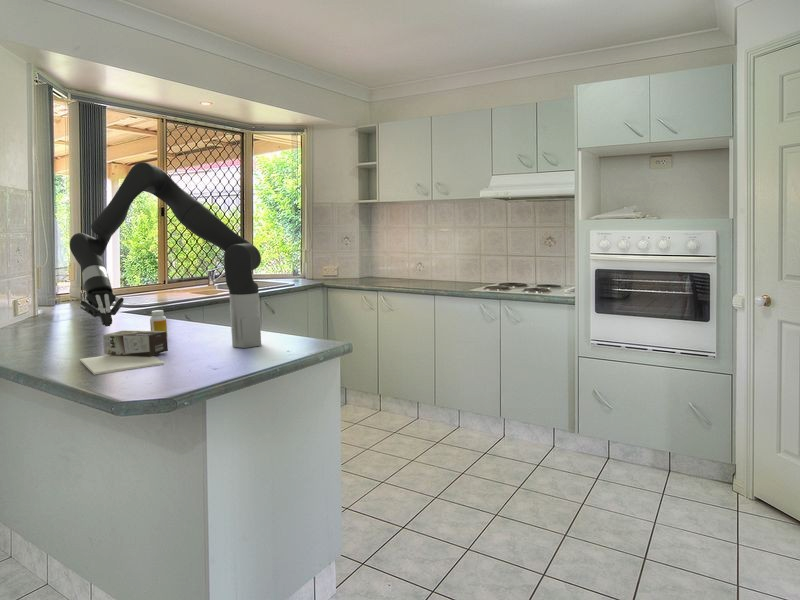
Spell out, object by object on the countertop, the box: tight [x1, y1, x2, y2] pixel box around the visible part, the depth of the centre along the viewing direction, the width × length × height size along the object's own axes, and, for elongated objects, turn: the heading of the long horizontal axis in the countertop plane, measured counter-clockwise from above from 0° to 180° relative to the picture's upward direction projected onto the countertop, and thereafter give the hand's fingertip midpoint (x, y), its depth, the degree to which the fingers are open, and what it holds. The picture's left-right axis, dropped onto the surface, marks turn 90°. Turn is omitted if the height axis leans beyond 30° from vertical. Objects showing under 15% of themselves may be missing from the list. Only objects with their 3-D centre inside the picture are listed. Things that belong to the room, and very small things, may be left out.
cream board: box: [79, 355, 165, 376], centre depth 172 cm, size 22×18×1 cm
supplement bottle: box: [149, 309, 168, 335], centre depth 211 cm, size 5×5×10 cm
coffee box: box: [102, 330, 169, 356], centre depth 182 cm, size 9×6×16 cm
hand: (108, 324), depth 182 cm, fingers closed
